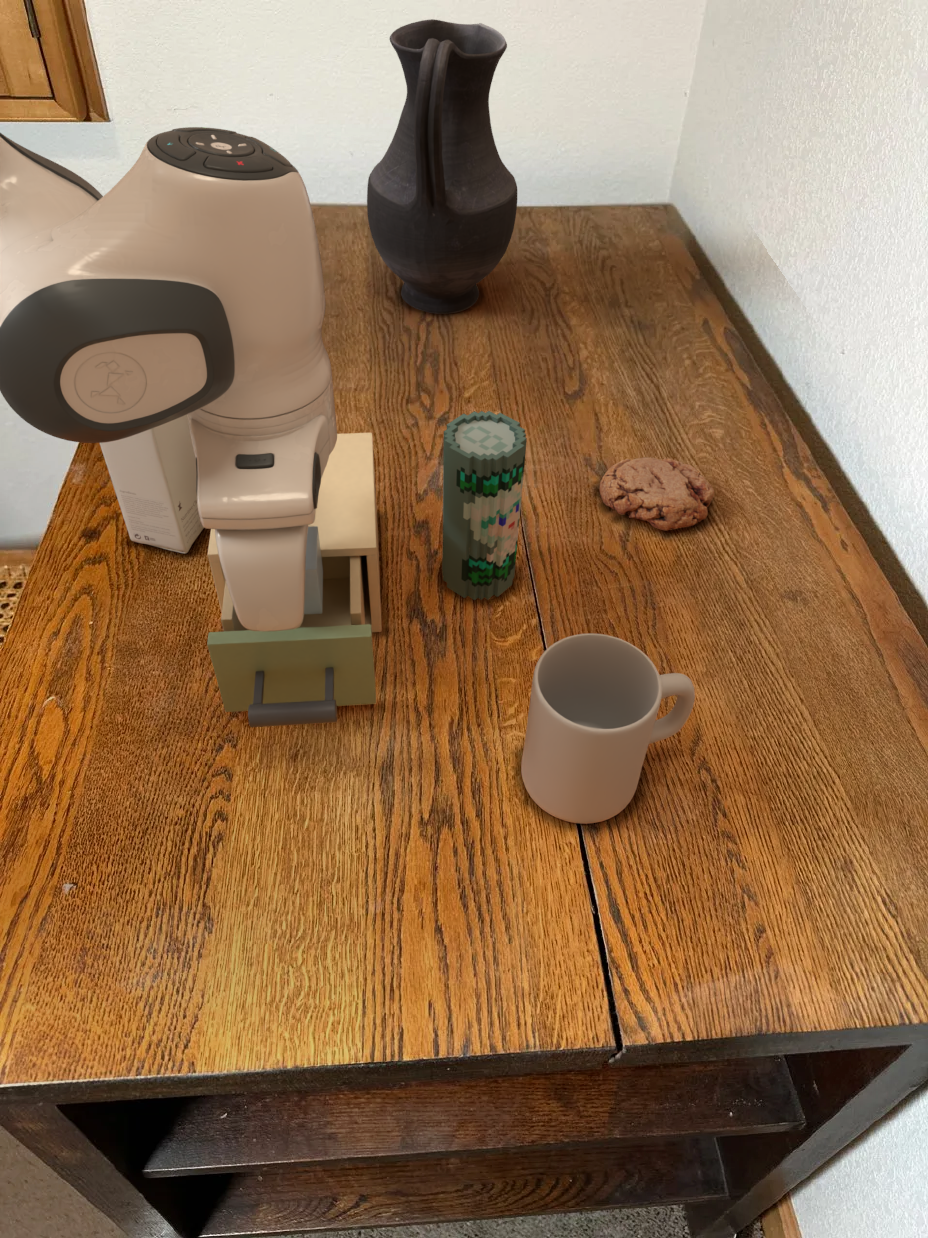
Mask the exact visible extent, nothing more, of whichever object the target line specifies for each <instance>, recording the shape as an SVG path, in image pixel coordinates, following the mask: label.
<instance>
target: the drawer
mask: <svg viewBox="0 0 928 1238" xmlns="http://www.w3.org/2000/svg"><path fill="white" fill-rule="evenodd" d="M321 558H322V566H323V599H322V614H305V615H304V617H303V622H302V624H301V626H300V627H298V628H296V629H291V630H282V631H251V630H248V629H246V628H245V627H244V626H243V625H242V624H241V623H240V621H239V619H238V617H237V614H236V611H235V608H234V605H233V602H232V599H231V596H230V593H229V589H228V586H227V583H226V582H225V590H224V599H223V607H222V612H221V615H220V622H221V625H222V626H221V627H222V630H223V631H209V632H208V634H207V642H206V646H207V649H208V653H209V657H210V660H211V664H212V668H213V671H214V675H215V678H216V682H217V686H218V690H219V694H220V697H221V702H222V704H223V708H224V712H225V713H236V712H237V713H238V712H247V719H248V720H247V721H248V726H249V727H250V728H266V727H267V728H268V727H283V726H285V727H286V726H300V725H302V726H303V725H319V724H335V723H337V722H338V707H342V706H345V707H346V706H362V705H364V706H365V705H376V704H377V686H376V673H375V658H374V656H375V655H374V645H373V643H374V642H373V632H372V629H371V624H365V590H364V569H363V556H362V555H361V556H338V557H321Z"/></svg>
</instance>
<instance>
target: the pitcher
mask: <svg viewBox="0 0 928 1238" xmlns="http://www.w3.org/2000/svg"><path fill="white" fill-rule="evenodd" d="M389 42H390V44H391V46H392V48H393V49H394V51H395V53H396V55H397V57H398V59H399V61H400V65H401V68H402V72H403V75H404V80H405V84H406V97H405V101H404V105H403V107H402V110H401V113H400V117H399V119H398V122H397V123H398V124H397V127H396V130H395V132H394V134H393V137H392V140H391V142H390V144H389V146H388V148H387V150H386V152H385V153H384V154H383V156H382V159H380V161H378V162H377V164H376V165H375V166H374V167H373V169H372V170H371V172H370V174H369V175H368V181H367V189H366V191H367V192H366V210H367V211H366V213H367V220H368V226H369V231H370V234H371V238H372V241H373V243H374V246H375V249H376V250H377V252H378V255H379V257H380V258H381V259H382V261H383V262H384V263H385V265H386V267H387V268H389V269H390V271H391V272H392V273H393V274H395V275H396V276H397V278H399V279H400V280H401V281H402V282H403V284H402V286H401V291H400V296H401V298H402V300H403V301H404V302H405V303H406V304H408V305H409V306H410V307H412V308H414V309H416V310H419V311H422V312H426V313H429V314H437V315H443V314H445V315H446V314H447V315H448V314H457V313H460V312H463V311H465V310H468V309H470V308H471V307H473V306H474V305H475V304H476V303H477V302H478V299H479V297H480V290H479V287H478V283H480V282H481V281H483V280H484V279H486V278H487V277H488V276H489V275H490V274H491V273H492V271H494V270H495V269H496V267H497V266H498V265H499V263H500V262H501V261H502V259H503V257H504V256H505V254H506V252H507V250H508V247H509V245H510V242H511V239H512V237H513V232H514V229H515V223H516V218H517V209H518V185H517V181H516V177H514V175H513V174H512V172H511V171H509V169H508V168H507V166H506V165H505V164H504V162H503V161H502V158H501V156H500V154H499V151H498V148H497V146H496V142H495V138H494V134H493V128H492V123H491V114H490V113H491V112H490V101H489V100H490V92H491V87H492V82H493V80H494V79H493V78H494V75H495V72H496V69H497V67H498V64H499V63H500V60H501V58H502V57H503V55H504V53H505V52H506V50H507V48H508V42H507V41H506V39H505V36H504V35H503V34H502V33H501V32H500V31H499V30H497V29H495V28H494V27H491V26H489V25H487V24H485V23H482V22H479V23H470V24H467V23H457V22H449V21H444V20H440V19H431V18H430V19H425V20H419V21H413V22H411V23H407V24H404V25H402V26H400V27H398V28H396V29H395V30H394V31H392V33H391V34H390V36H389Z"/></svg>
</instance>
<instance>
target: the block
mask: <svg viewBox="0 0 928 1238" xmlns="http://www.w3.org/2000/svg"><path fill="white" fill-rule="evenodd" d="M322 599H323V566H322V558H321V549H320V541H319V532H318V527H317V526H310V527H308V532H307V544H306V567H305V604H304V615H305V614H322Z"/></svg>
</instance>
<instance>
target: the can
mask: <svg viewBox="0 0 928 1238" xmlns="http://www.w3.org/2000/svg"><path fill="white" fill-rule="evenodd" d="M526 434H527V433H526V429H525V428H523V427H521V422H520V421H517V420H515V419H514V418H511V417H510V416H508V415H506V414H504V413H502V412H498V413H497V414H496V413H494V412H492V411H491V410H487V411H486V412H484V411H483V410H480V412H478V411H472V412H471V413H469V414H466V413H462V414H460V415H459V416H457V417H456V418H454V419H453V420H452V421H450V422H448V423H447V424H446V429H445V430H443V449H442V450H443V454H442V455H443V457H442V458H443V460H442V462H443V463H442V547H441V548H442V549H441V550H442V554H441V555H442V556H441V557H442V559H441V562H442V564H441V566H442V567H441V572H442V582H445V583H446V588H447V589H449V590H451V591H452V592H454V593H455V594H457V595H458V596H460V597H462V598H463V599H466V598H467V597H469V598H470V599H472V600H473V601H476V600H477V599H479V600H480V601H482V600H483V599H486V600H487V601H488V600H489V599H491V598H492V597H493V596H495V597H497V598H498V597H499V596H501V595H502V594H503V593H504V592H505V591H507V590H508V589H509V588H510V587H511V586H512V585H513V581H514V579H515V574H516V564H517V552H518V551H517V550H518V541H519V532H520V531H519V530H520V529H519V528H520V518H521V506H522V495H523V486H524V473H525V465H526V464H525V462H526V453H527V440H528V439H527V437H526V436H527V435H526Z"/></svg>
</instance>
